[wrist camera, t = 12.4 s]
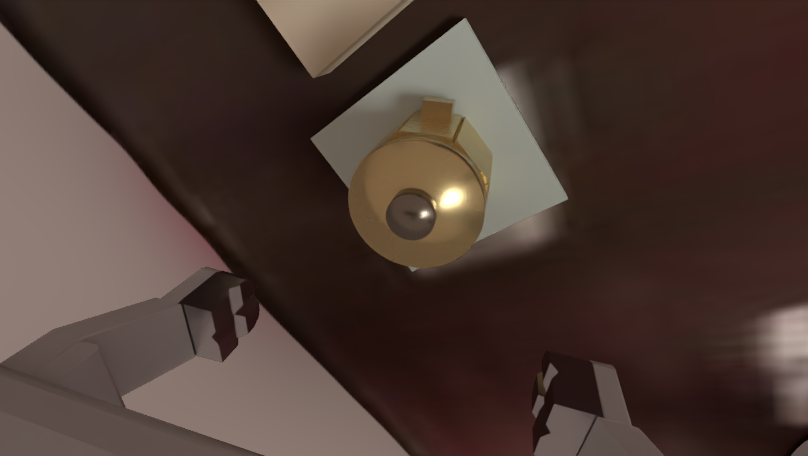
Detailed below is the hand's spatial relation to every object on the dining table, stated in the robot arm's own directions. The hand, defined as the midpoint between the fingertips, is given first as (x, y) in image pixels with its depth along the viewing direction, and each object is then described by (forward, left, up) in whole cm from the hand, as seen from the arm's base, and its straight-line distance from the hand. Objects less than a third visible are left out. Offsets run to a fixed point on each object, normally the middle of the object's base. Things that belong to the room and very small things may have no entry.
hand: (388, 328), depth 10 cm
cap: (+1, 0, -12) cm, 12 cm away
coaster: (+1, 0, -12) cm, 12 cm away
